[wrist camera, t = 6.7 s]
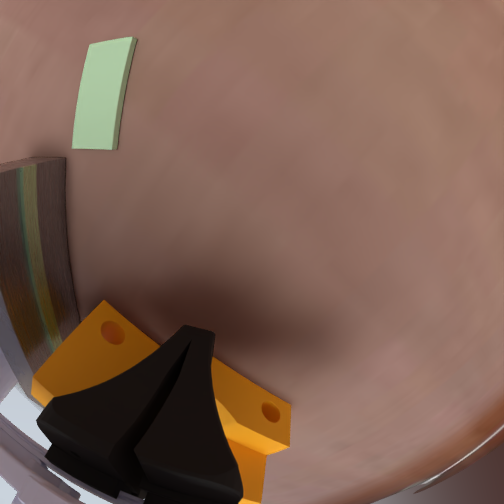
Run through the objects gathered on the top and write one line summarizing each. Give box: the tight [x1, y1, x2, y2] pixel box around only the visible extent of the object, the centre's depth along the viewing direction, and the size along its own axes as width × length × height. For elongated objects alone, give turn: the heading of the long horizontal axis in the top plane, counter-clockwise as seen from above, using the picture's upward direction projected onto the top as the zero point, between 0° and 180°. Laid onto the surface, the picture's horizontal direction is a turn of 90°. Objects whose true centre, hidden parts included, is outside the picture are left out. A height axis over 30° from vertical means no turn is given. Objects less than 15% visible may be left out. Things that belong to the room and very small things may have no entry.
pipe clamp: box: [31, 300, 291, 504], centre depth 11 cm, size 12×4×6 cm, turn 49°
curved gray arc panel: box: [0, 157, 80, 408], centre depth 11 cm, size 3×14×5 cm, turn 170°
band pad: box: [72, 37, 137, 150], centre depth 9 cm, size 2×5×1 cm, turn 170°
